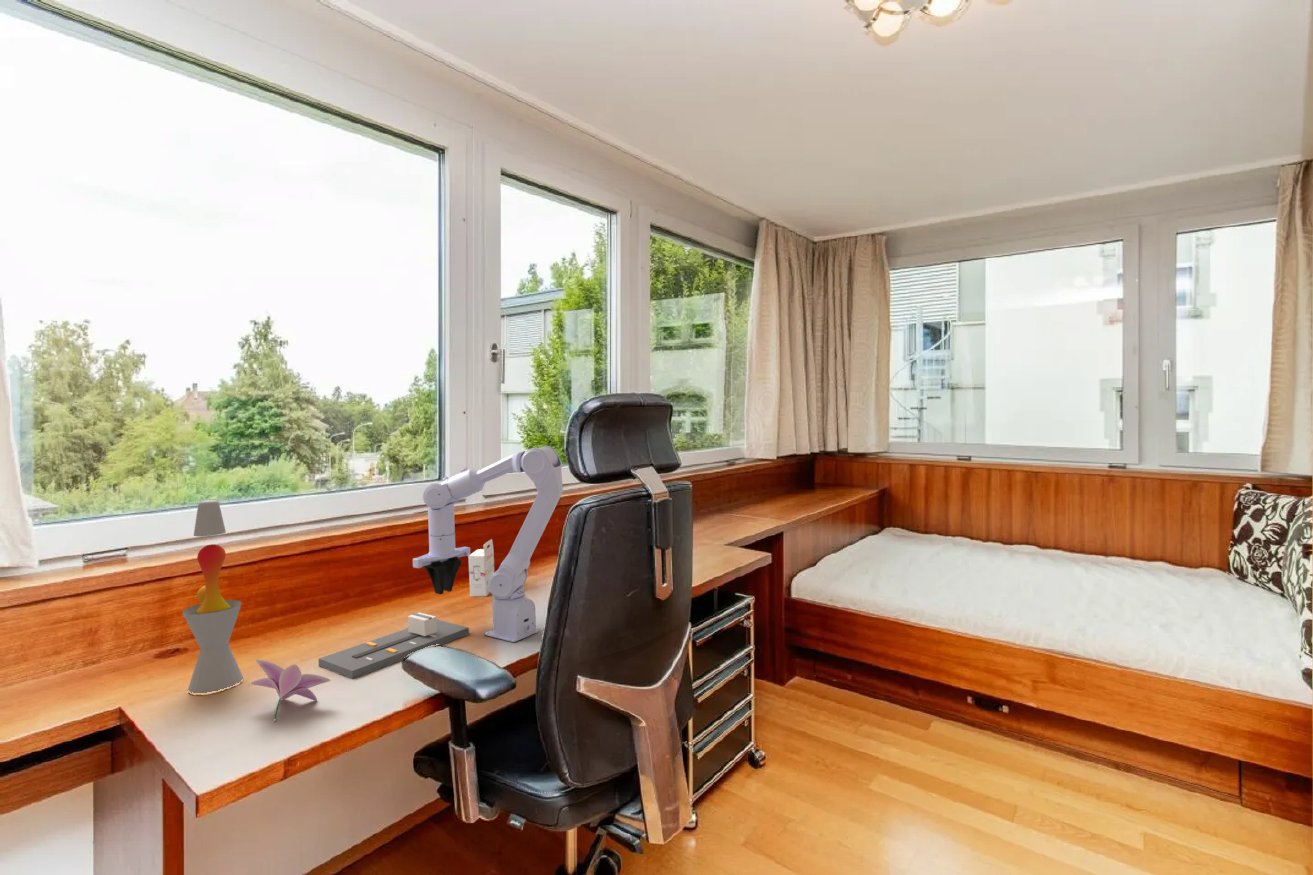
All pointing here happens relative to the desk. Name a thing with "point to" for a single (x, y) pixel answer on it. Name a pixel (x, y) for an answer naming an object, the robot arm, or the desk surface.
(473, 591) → the ink cartridge box
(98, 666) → the desk surface
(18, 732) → the desk surface
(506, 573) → the robot arm
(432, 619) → the fader tab
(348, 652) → the board
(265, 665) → the lily
